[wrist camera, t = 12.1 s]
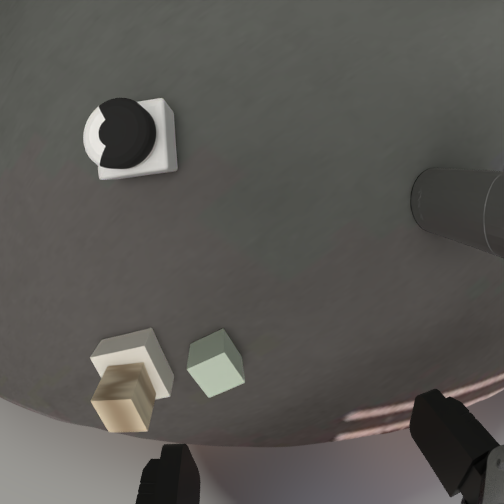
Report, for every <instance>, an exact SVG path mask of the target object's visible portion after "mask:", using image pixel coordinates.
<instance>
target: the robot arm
mask: <svg viewBox="0 0 504 504" xmlns="http://www.w3.org/2000/svg"><path fill="white" fill-rule="evenodd" d="M411 206H412V212H413V215H414V218H415V220H416V222H417V223H418V224H419V226H420V227H421V228H423V229H424V230H425V231H428V232H430V233H434V234H437V235H440V236H443V237H445V238H448V239H451V240H454V241H457V242H460V243H463V244H465V245H468V246H471V247H474V248H477V249H479V250H482V251H485V252H488V253H490V254H493V255H496V256H499V257H501V258H504V172H501V171H487V170H470V169H451V168H431V169H428V170H426V171H424V172H423V173H422V174H421V175H420V176H419V177H418V178H417V180H416V182H415V184H414V187H413V190H412V195H411ZM410 433H411V436H412V438H413V439H414V441H415V442H416V444H417V446H418V447H419V449H420V450H421V452H422V453H423V455H424V456H425V458H426V460H427V461H428V462H429V464H430V466H431V467H432V469H433V470H434V472H435V474H436V475H437V477H438V478H439V480H440V482H441V483H442V485H443V486H444V488H445V489H446V491H447V492H448V494H449V496H450V497H452V496H454V495H456V494H458V493H460V492H461V493H462V495H463V498H462V501H461V504H504V445H499V444H498V443H497V442H496V440H495V439H494V438H493V437H492V436H491V435H490V434H489V432H488V431H487V430H486V429H485V428H484V427H483V426H482V425H481V423H480V422H479V421H478V420H477V419H475V417H474V416H473V415H472V414H471V413H469V410H468V409H467V408H466V407H465V406H464V405H463V404H462V403H461V402H460V401H458V400H456V399H454V398H452V397H448V398H445V397H444V396H443V395H442V393H441V392H440V391H439V390H437V389H433V390H430V391H428V392H425V393H423V394H420V395H418V396H417V397H416V398H415V402H414V407H413V411H412V416H411V420H410ZM140 483H141V484H140V485H139V490H138V493H139V494H138V495H137V499H136V504H199V501H200V475H199V471H198V468H197V466H196V463H195V461H194V459H193V457H192V455H191V453H190V450H189V448H188V446H187V445H186V444H164V446H163V447H162V451H161V457H160V459H151V460H150V461H149V462H148V464H147V465H146V466H145V468H144V469H143V472H142V476H141V481H140Z"/></svg>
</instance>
